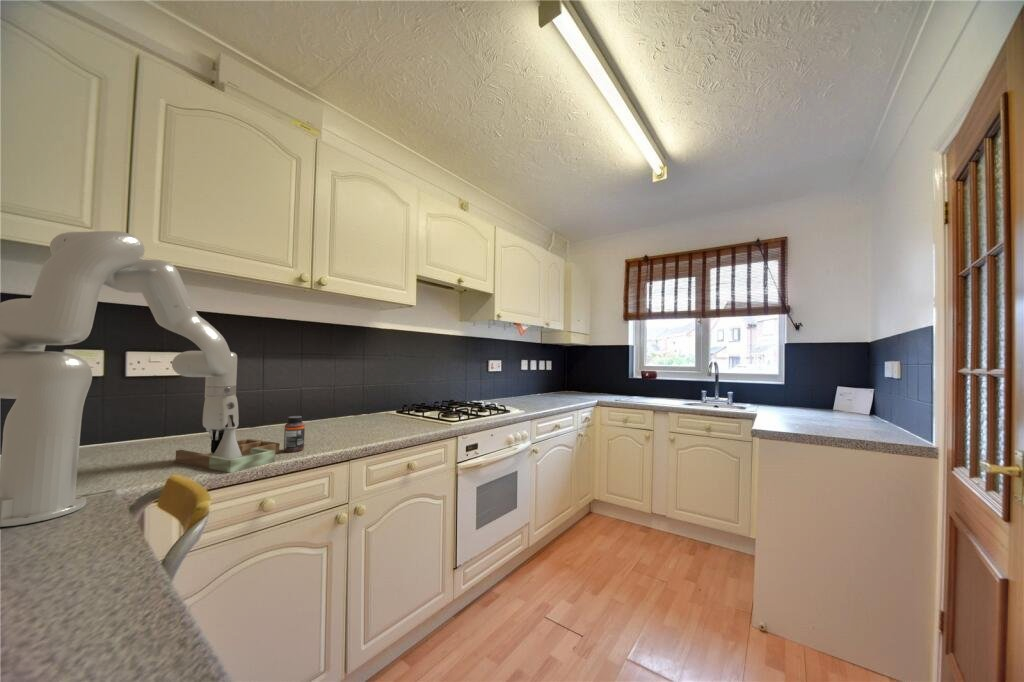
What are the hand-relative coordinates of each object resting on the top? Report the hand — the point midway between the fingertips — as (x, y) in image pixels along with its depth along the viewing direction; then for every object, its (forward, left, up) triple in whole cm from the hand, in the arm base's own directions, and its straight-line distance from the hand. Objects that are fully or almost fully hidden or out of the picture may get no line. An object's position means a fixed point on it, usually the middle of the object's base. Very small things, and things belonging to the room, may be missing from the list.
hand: (218, 452), depth 113 cm
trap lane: (+3, -5, -2) cm, 6 cm away
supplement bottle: (+17, -10, -2) cm, 20 cm away
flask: (0, -4, -2) cm, 4 cm away
